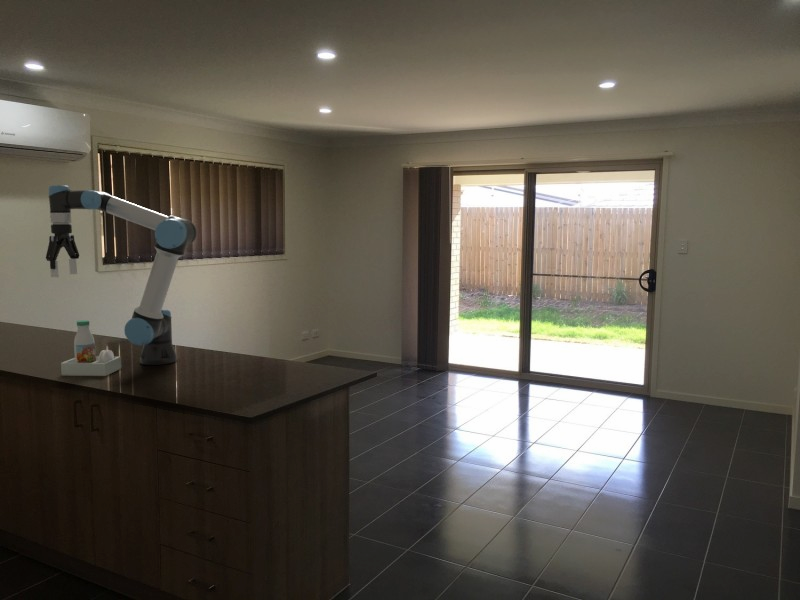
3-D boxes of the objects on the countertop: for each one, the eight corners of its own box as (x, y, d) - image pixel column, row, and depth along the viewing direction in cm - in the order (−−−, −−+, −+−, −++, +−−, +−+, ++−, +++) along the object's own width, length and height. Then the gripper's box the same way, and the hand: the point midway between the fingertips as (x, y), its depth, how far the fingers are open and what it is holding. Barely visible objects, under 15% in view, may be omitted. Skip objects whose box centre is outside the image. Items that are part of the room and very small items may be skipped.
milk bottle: (71, 371, 263) (67, 322, 260) (84, 366, 270) (81, 319, 268) (87, 371, 261) (84, 322, 258) (100, 367, 268) (97, 319, 266)
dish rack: (79, 367, 272) (78, 346, 271) (121, 368, 271) (120, 347, 270) (61, 375, 260) (60, 353, 258) (105, 375, 259) (104, 353, 257)
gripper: (69, 223, 278) (72, 273, 280) (33, 224, 253) (37, 278, 256) (86, 223, 277) (89, 273, 280) (52, 224, 252) (55, 278, 255)
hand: (64, 275), depth 268 cm, fingers open, 13 cm apart
